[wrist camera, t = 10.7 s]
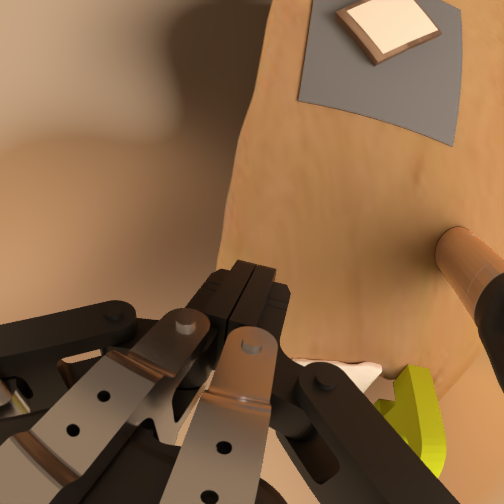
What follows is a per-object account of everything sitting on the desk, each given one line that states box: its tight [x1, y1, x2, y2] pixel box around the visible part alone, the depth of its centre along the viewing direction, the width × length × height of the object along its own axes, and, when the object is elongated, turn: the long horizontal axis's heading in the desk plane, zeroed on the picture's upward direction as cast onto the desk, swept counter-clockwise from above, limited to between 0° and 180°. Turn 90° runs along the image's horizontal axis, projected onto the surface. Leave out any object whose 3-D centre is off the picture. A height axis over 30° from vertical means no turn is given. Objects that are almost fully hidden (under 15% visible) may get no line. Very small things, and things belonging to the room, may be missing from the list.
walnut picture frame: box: [335, 0, 442, 67], centre depth 27 cm, size 3×10×14 cm
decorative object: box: [374, 364, 446, 478], centre depth 42 cm, size 20×7×30 cm, turn 167°
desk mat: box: [298, 0, 462, 147], centre depth 29 cm, size 26×28×1 cm
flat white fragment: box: [292, 358, 382, 393], centre depth 59 cm, size 21×4×25 cm
